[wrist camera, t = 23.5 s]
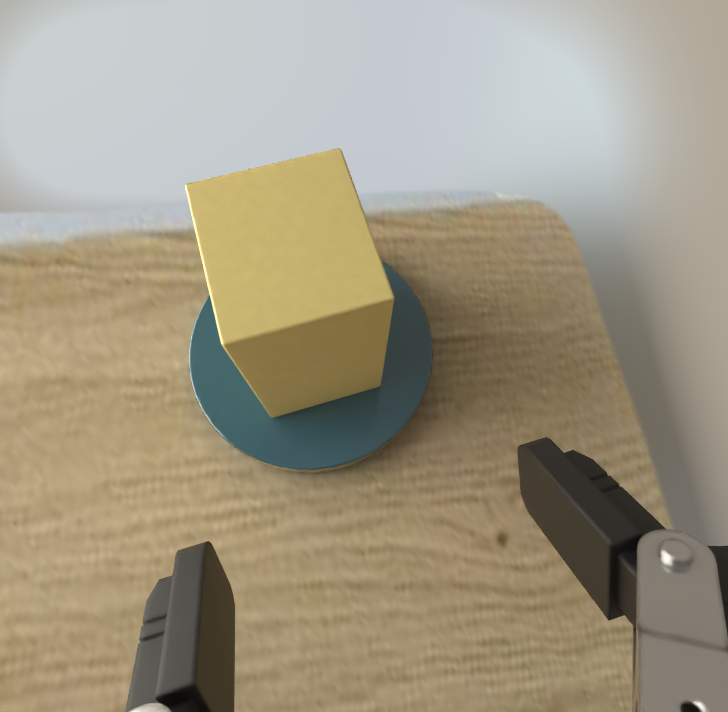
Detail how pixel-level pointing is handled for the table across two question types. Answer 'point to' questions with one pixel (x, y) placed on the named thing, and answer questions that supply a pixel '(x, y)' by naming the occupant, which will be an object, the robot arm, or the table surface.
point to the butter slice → (294, 280)
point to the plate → (324, 421)
